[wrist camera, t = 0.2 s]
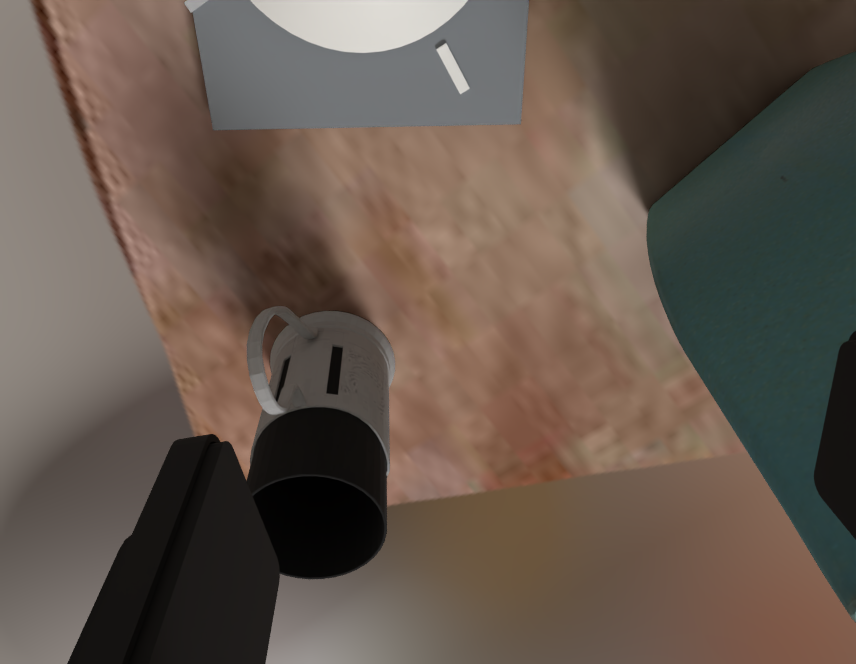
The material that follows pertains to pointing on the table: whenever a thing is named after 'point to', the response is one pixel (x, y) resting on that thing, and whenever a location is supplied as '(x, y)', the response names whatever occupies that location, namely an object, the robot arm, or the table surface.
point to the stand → (362, 72)
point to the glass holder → (321, 440)
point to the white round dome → (360, 21)
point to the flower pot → (772, 288)
